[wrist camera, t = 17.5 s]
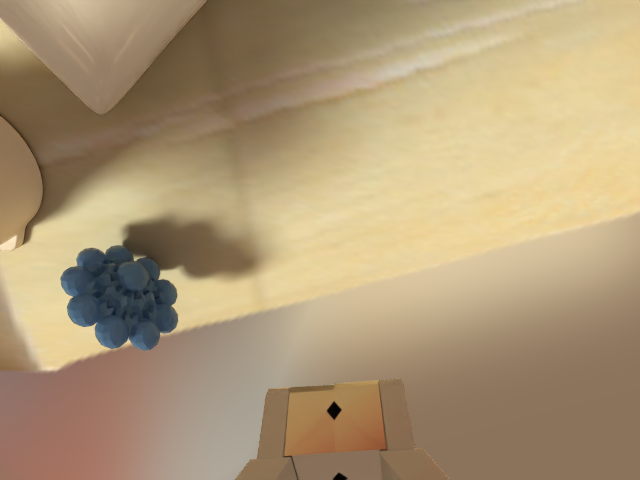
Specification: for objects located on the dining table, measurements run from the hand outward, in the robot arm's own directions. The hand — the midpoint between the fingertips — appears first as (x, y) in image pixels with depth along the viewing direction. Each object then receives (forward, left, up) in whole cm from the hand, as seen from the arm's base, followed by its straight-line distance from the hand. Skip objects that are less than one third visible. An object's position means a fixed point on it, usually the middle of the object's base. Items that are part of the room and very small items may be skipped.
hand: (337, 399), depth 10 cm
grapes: (-23, -14, -32) cm, 42 cm away
